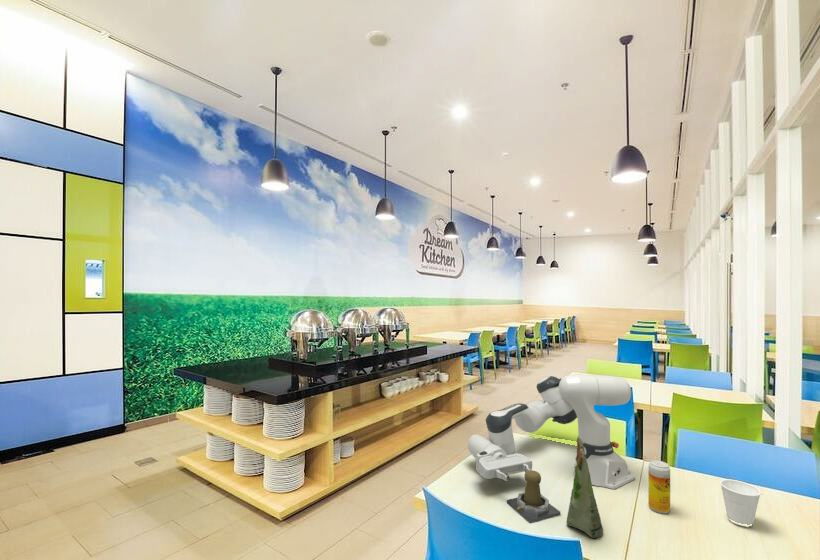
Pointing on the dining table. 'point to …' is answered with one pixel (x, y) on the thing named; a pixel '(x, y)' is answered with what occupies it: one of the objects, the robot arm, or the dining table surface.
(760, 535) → the dining table surface
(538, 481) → the cork
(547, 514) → the hub socket
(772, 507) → the dining table surface
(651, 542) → the dining table surface
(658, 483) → the pill bottle
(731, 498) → the cup
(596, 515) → the pouch
